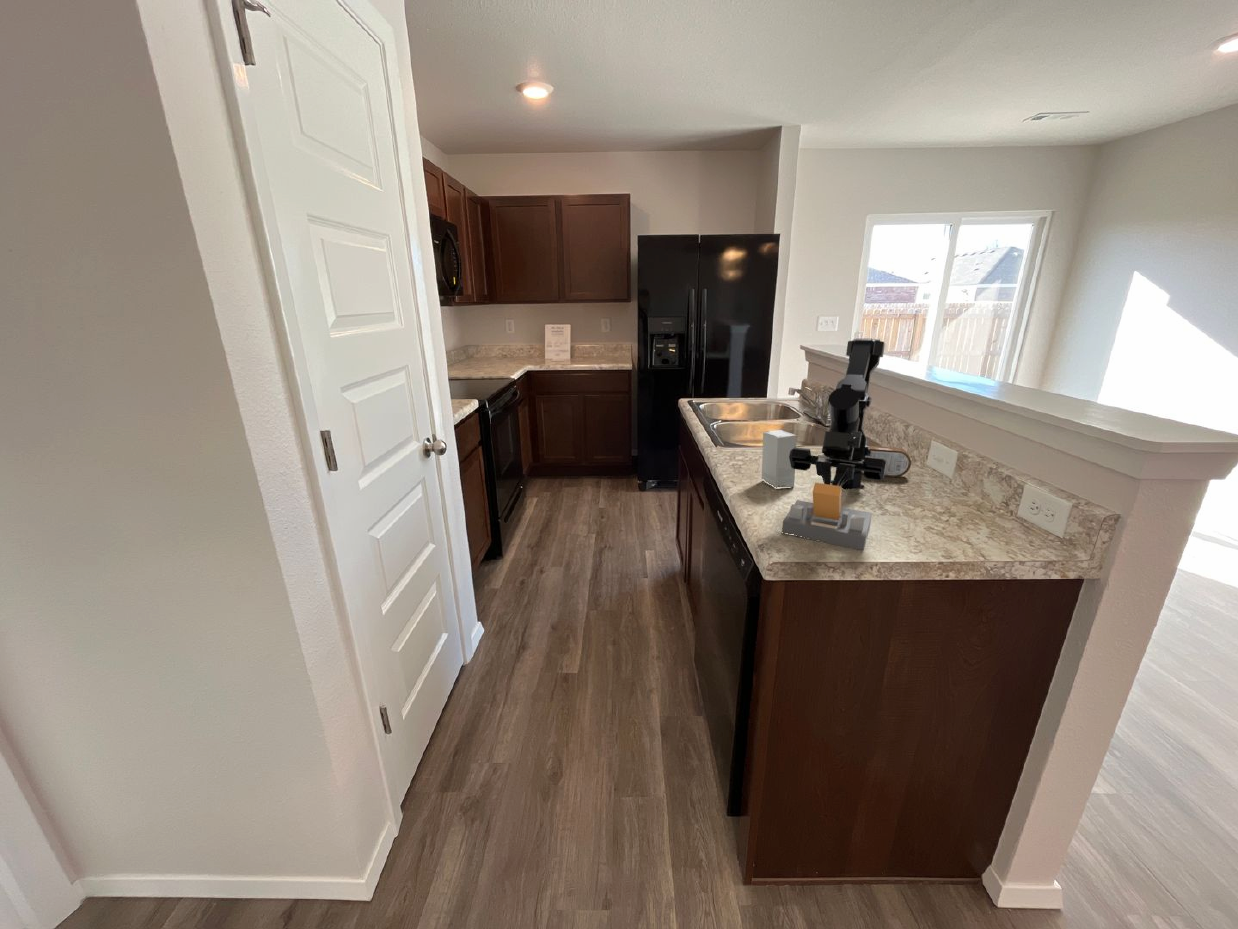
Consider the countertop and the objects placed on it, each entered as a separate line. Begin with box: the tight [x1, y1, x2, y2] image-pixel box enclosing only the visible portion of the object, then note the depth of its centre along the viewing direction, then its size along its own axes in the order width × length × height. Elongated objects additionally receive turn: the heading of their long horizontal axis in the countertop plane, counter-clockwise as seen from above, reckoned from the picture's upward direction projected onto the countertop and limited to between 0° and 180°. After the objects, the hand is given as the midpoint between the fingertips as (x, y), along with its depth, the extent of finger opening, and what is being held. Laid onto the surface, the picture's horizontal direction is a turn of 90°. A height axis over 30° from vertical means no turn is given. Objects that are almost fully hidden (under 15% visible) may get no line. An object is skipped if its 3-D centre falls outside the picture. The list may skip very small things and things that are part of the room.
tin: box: [862, 445, 912, 478], centre depth 140 cm, size 15×3×8 cm, turn 71°
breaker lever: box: [812, 482, 842, 520], centre depth 100 cm, size 2×5×10 cm
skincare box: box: [761, 429, 798, 488], centre depth 133 cm, size 8×6×15 cm
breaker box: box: [781, 499, 873, 551], centre depth 105 cm, size 14×16×5 cm
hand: (828, 498), depth 101 cm, fingers closed, pressing on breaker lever
